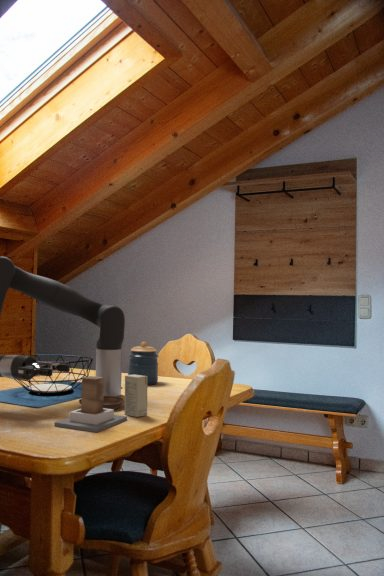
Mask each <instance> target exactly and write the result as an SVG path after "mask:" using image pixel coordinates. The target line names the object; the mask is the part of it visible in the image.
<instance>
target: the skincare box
mask: <svg viewBox="0 0 384 576" xmlns="http://www.w3.org/2000/svg"><path fill="white" fill-rule="evenodd" d="M124 415H126V416H131V417H135V418H140V417H145V416H148V385H147V376H142V375H135V374H134V375H128V374H127V375H124Z"/></svg>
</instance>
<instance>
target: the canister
mask: <svg viewBox="0 0 384 576" xmlns="http://www.w3.org/2000/svg"><path fill="white" fill-rule="evenodd" d="M157 351H158V350H157V349H156V348H155V347H154V346H148V343H147V342H146V341H142V342H140V345H139V346H138V345H137V346H133V347H132V348H131V349H130V353H129V354H128V355H127V356H128V358H129V361H128V362H127V365H128V367H127V369H128V371H127V375H134V374H135V375H142V376H147V386H153V385H156V384H158V381H159V377H158V375H159V374H158V372H159V362H158V358H159V354H157Z"/></svg>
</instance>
